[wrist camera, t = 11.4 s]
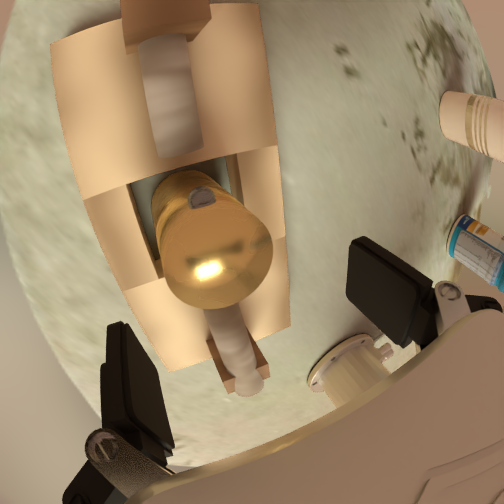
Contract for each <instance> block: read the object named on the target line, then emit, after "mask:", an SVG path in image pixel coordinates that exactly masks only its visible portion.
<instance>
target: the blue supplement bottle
mask: <svg viewBox="0 0 504 504" xmlns="http://www.w3.org/2000/svg"><path fill="white" fill-rule="evenodd" d="M447 252H448V254H449V255H450V256H452V257H453V258H455V259H457V260H458V261H460V262H461V263H463V264H464V265H465V266H467V267H468V268H470V269H471V270H472V271H474V272H475V273H477V274H478V275H479V276H481V277H482V278H483V279H485V280H486V282H487V283H489V284H490V285H496V286H497V287H498V289H499V291H501V292H503V293H504V236H502V235H500V234H499V233H497V232H495V231H494V230H492V229H490V228H489V227H487V226H485V225H483V224H482V223H480V222H478V221H476V220H474V219H473V218H471V217H470V216H468V215H465V214H464V215H461V216H460V217H459V218H458V219H457V220H456V222H455V224H454V225H453V227H452V229H451V232H450V235H449V238H448V242H447Z"/></svg>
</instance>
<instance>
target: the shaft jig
mask: <svg viewBox="0 0 504 504" xmlns="http://www.w3.org/2000/svg"><path fill="white" fill-rule="evenodd" d="M120 6H121V18H120V19H117V20H113V21H110V22H107V23H103V24H100V25H97V26H94V27H91V28H88V29H86V30H83V31H80V32H78V33H75V34H72V35H70V36H68V37H65V38H63V39H61V40H58V41H56V42H54V43H52V44H50V50H51V62H52V72H53V80H54V87H55V93H56V99H57V105H58V110H59V116H60V120H61V125H62V130H63V134H64V138H65V142H66V146H67V150H68V154H69V157H70V161H71V165H72V168H73V171H74V175H75V178H76V181H77V184H78V187H79V190H80V193H81V196H82V199H83V202H84V205H85V208H86V210H87V213H88V216H89V218H90V221H91V224H92V226H93V229H94V231H95V234H96V236H97V239H98V241H99V243H100V246H101V248H102V250H103V253H104V255H105V257H106V259H107V262H108V264H109V266H110V268H111V270H112V272H113V275H114V277H115V279H116V281H117V283H118V285H119V287H120V289H121V291H122V293H123V295H124V297H125V299H126V301H127V302H128V304H129V306H130V308H131V310H132V312H133V314H134V315H135V317H136V319H137V321H138V323H139V324H140V326H141V328H142V330H143V331H144V333H145V335H146V336H147V338H148V340H149V341H150V343H151V345H152V346H153V348H154V350H155V351H156V353H157V354H158V356H159V357H160V359H161V361H162V362H163V364H164V365H165V367H166V368H167V370H168V371H169V372H172V371H175V370H178V369H181V368H184V367H187V366H190V365H193V364H196V363H199V362H202V361H205V360H207V359H210V358H213V360H214V363H215V365H216V368H217V370H218V372H219V375H220V377H221V379H222V382H223V384H224V386H225V388H226V390H227V393H228V394H229V393H232V392H236V393H237V394H238V395H239V396H243V397H249V396H253V395H255V394H257V393H259V392H260V391H261V390H262V389H263V387H264V381H263V380H264V379H266V378H269V377H270V372H269V366H268V363H267V361H266V359H265V358H264V356H263V354H262V353H261V351H260V349H259V348H258V346H257V344H256V342H255V341H257V340H259V339H262V338H264V337H266V336H269V335H271V334H273V333H276V332H278V331H280V330H283V329H285V328H287V327H289V326H291V322H290V300H289V282H288V265H287V250H286V236H285V223H284V210H283V199H282V187H281V177H280V166H279V156H278V147H277V137H276V128H275V120H274V111H273V103H272V95H271V87H270V80H269V72H268V65H267V58H266V51H265V45H264V38H263V32H262V25H261V19H260V13H259V7H258V3H215V4H210V3H209V0H120ZM222 156H225V158H226V164H227V170H228V176H229V181H230V187H231V193H232V196H233V197H234V198H235V199H236V200H238V201H239V202H240V203H241V204H242V205H243V206H245V207H246V208H247V209H248V210H249V211H250V212H251V213H253V214H254V215H255V216H256V217H257V218H258V219H259V220H260V221H261V222H262V223H263V224H264V225H265V226H266V228H267V229H268V231H269V233H270V235H271V238H272V242H273V259H272V263H271V266H270V269H269V272H268V274H267V275H266V277H265V279H264V280H263V282H262V283H261V284H260V285H259V287H258V288H257V289H256V290H255V291H254V292H253V293H251V294H250V295H249V296H248V297H246V298H245V299H243V300H241V301H239V302H238V303H235V304H233V305H230V306H227V307H224V308H219V309H200V308H196V307H192V306H190V305H187V304H186V303H184V302H182V301H181V300H179V299H178V298H177V297H176V296H175V295H174V294H173V293H172V291H171V290H170V289H169V287H168V285H167V282H166V279H165V276H164V271H163V267H162V262H161V259H158V260H155V259H154V256H153V253H152V250H151V248H150V245H149V242H148V239H147V236H146V234H145V231H144V228H143V225H142V222H141V219H140V216H139V212H138V209H137V206H136V203H135V200H134V196H133V193H132V190H131V186H130V183H131V182H134V181H137V180H140V179H143V178H146V177H150V176H153V175H156V174H159V173H163V172H166V171H169V170H173V169H176V168H180V167H183V166H187V165H191V164H194V163H198V162H202V161H206V160H210V159H214V158H218V157H222Z"/></svg>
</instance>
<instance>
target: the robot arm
mask: <svg viewBox="0 0 504 504" xmlns="http://www.w3.org/2000/svg"><path fill="white" fill-rule="evenodd" d="M432 283H433V281H432V280H431V279H429V278H428V277H426V276H425V275H423V274H422V273H421V272H419V271H418V270H416V269H415V268H413V267H412V266H410V265H409V264H407V263H406V262H404V261H403V260H401V259H400V258H398V257H397V256H395V255H394V254H392V253H391V252H389V251H388V250H386V249H385V248H383V247H382V246H380V245H378V244H377V243H375V242H374V241H372V240H370V239H369V238H367V237H365V236H362V237H359V238H357V239H354V240H352V242H351V245H350V246H349V257H348V271H347V283H346V296H347V298H348V300H349V301H350V302H352V303H353V304H354V305H355V306H356V307H357V308H358V309H359V310H360V311H361V312H362V313H363V314H364V315H365V316H366V317H368V318H369V319H370V320H371V321H372V322H373V323H374V324H375V325H376V326H377V327H378V328H379V329H380V330H381V331H382V332H383V333H384V334H385V335H386V336H387V337H388V338H389V339H390V340H391V341H393V342H394V343H395V344H396V345H400V346H401V347H402V348H403V349H404V348H405V347H406V346H408V345H409V344H410V343H411V342H412V340H413V341H414V342H415V346H416V356H414V357H413V358H412V359H411V360H409V361H408V362H407V363H405V364H404V365H403V366H401V367H400V368H399V369H397V370H396V371H395V372H393V373H392V374H391V373H390V372H389V371H388V370H387V369H386V367H385V366H384V365H383V364H382V362H384V361H386V360H387V359H389V358H390V357H391V356H393V354H394V352H393V350H392V348H391V345H390V344H389V343H386V344H384V345H383V346H381V347H380V348H379V349H378V348H375V347H374V341H373V339H372V338H371V337H370V336H369V335H367V334H359V335H356V336H353V337H351V338H349V339H347V340H345V341H343V342H342V343H340V344H339V345H337V346H336V347H335V348H333V349H332V350H331V351H330V352H328V353H327V354H326V355H325V356H324V357H323V358H322V359H321V360H320V361H319V362H318V363H317V365H316V366H315V367H314V368H313V370H312V371H311V373H310V375H309V378H308V382H307V383H308V386H309V388H310V389H311V390H312V391H313V392H324V391H325V393H326V394H327V395H328V397H329V398H330V399H331V401H332V402H333V404H334V405H335V406H336V408H337V409H335V410H334V411H332V412H330V413H328V414H326V415H325V416H323V417H321V418H319V419H317V420H315V421H313V422H311V423H309V424H307V425H305V426H303V427H301V428H299V429H297V430H295V431H293V432H291V433H288V434H286V435H284V436H282V437H280V438H277V439H275V440H273V441H270V442H268V443H265V444H263V445H260V446H258V447H255V448H253V449H250V450H247V451H245V452H242V453H239V454H236V455H234V456H231V457H228V458H225V459H222V460H219V461H216V462H212V463H209V464H206V465H202V466H199V467H196V468H193V469H190V470H187V471H183V472H180V473H176V472H174V471H173V470H171V469H170V468H168V467H167V466H166V465H167V464H168V463H167V460H166V457H170V456H173V453H172V450H171V449H173V448H175V444H174V440H173V437H172V433H171V429H170V425H169V421H168V417H167V413H166V409H165V404H164V400H163V395H162V390H161V386H160V381H159V375H158V372H157V369H156V367H155V365H154V364H153V362H152V361H151V359H150V358H149V356H148V355H147V353H146V352H145V350H144V349H143V347H142V345H141V344H140V342H139V341H138V339H137V337H136V336H135V334H134V332H133V331H132V329H131V327H130V326H129V324H128V323H126V324H124V323H123V322H122V321H119V322H116V323H113V324H110V325H108V326H107V338H106V363H103V364H102V365H101V368H100V393H101V417H102V428H99V429H97V430H94V431H93V432H92V433H91V434H90V435H89V436H88V438H87V440H86V443H85V453H86V457H87V458H88V460H87V462H86V463H85V465H84V466H83V467H82V468H81V470H80V471H79V472H78V474H77V475H76V476H75V478H74V479H73V480H72V482H71V483H70V485H69V486H68V487H67V489H66V490H65V492H64V494H63V498H62V501H63V504H504V307H501V305H500V304H499V303H498V302H497V300H496V299H494V298H491V297H485V296H474V295H464V292H463V290H462V289H461V288H460V287H459V286H458V285H457V284H455V283H453V282H451V281H440V282H438V283H437V284H436V285H435V288H432Z"/></svg>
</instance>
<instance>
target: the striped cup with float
mask: <svg viewBox="0 0 504 504" xmlns="http://www.w3.org/2000/svg"><path fill="white" fill-rule="evenodd" d="M439 119H440V126H441V130H442V133H443V135H444V136H445V137H446V138H447V139H449V140H451V141H454V142H457V143H459V144H462V145H464V146H467V147H469V148H471V149H474V150H476V151H478V152H480V153H482V154H485V155H487V156H489V157H491V158H493V159H496V160H498V161H500V162H502V163H504V101H503V100H499V99H496V98H491V97H487V96H482V95H475V94H469V93H462V92H455V91H446V92H445V93H444V94H443V96H442V98H441V102H440V108H439Z"/></svg>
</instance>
